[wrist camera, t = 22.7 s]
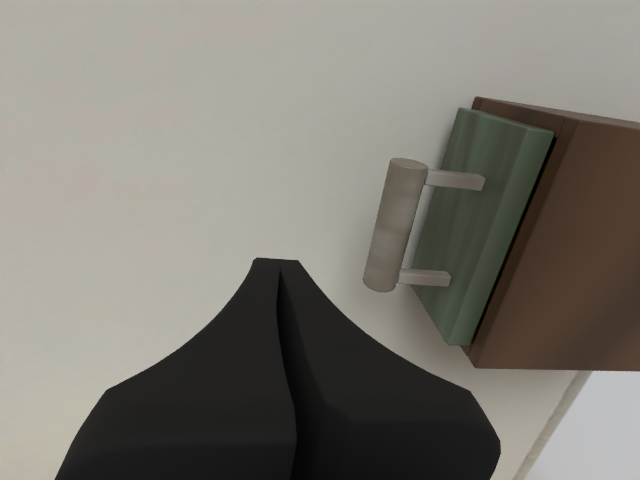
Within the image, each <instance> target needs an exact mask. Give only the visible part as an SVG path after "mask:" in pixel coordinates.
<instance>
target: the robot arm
mask: <svg viewBox="0 0 640 480" xmlns="http://www.w3.org/2000/svg"><path fill="white" fill-rule="evenodd" d="M500 454H501V448H500V440H499V438H498V436H497V434H496V432H495V430H494V428H493V427H492V425H491V423H490V422H489V420H488V418H487V417H486V415H485V413H484V411H483V410H482V408H481V407H480V405H479V404H478V402H477V401H476V399H475V397H474V396H473V395H472V393H471V392H470V391H469V390H466V389H464V388H462V387H460V386H458V385H455V384H453V383H451V382H449V381H447V380H444V379H442V378H440V377H438V376H436V375H433V374H431V373H429V372H427V371H425V370H424V369H422V368H420V367H418V366H416V365H414V364H413V363H411V362H409V361H407V360H405V359H404V358H402V357H400V356H399V355H397V354H395V353H394V352H392V351H391V350H389V349H388V348H386V347H385V346H383V345H382V344H380V343H379V342H377V341H376V340H375V339H373V338H372V337H370V336H369V335H368V334H366V333H365V332H364V331H363V330H361V329H360V328H359V327H358V326H357V325H355V324H354V323H353V322H352V321H351V320H349V319H348V318H347V317H346V316H345V315H344V314H343V313H342V312H341V311H340V310H339V309H338V308H337V307H336V306H335V305H334V304H333V303H332V302H331V301H330V300H329V299H328V298H327V296H326V295H325V294H324V293H323V292H322V291H321V289H320V288H319V287H318V286H317V285H316V283H315V282H314V281H313V279H312V278H311V277H310V275H309V274H308V273H307V271H306V270H305V269H304V267H303V266H302V265H301V263H300V262H299V261H298V260H285V259H270V258H256V259H255V260H253V263H252V266H251V268H250V271H249V273H248V274H247V276H246V278H245V280H244V281H243V283H242V284H241V286H240V287H239V289H238V290H237V292H236V293H235V294H234V296H233V297H232V298H231V299H230V301H229V302H228V303H227V304H226V305H225V307H224V308H223V309H222V310H221V311H220V312H219V313H218V315H217V316H216V317H215V318H214V319H213V320H212V321H211V322H210V323H209V324H208V325H207V326H206V327H204V328H203V329H202V330H201V331H200V332H199V333H198V334H196V335H195V336H194V337H193V338H192V339H190V340H189V341H188V342H187V343H185V344H184V345H183V346H182V347H180V348H179V349H177V350H176V351H175V352H173V353H172V354H170V355H169V356H167V357H166V358H164V359H163V360H161V361H160V362H158V363H156V364H155V365H153V366H151V367H150V368H148V369H146V370H144V371H142V372H140V373H139V374H137V375H135V376H133V377H131V378H129V379H127V380H125V381H123V382H121V383H119V384H118V385H116V386H113V387H111V388H109V389H107V390H106V391H105V393H104V394H103V395H102V397H101V398H100V399H99V401H98V402H97V404H96V405H95V407H94V408H93V410H92V411H91V412H90V414H89V416H88V417H87V419H86V420H85V422H84V423H83V425H82V426H81V428H80V429H79V431H78V433H77V435H76V436H75V438H74V440H73V442H72V444H71V446H70V448H69V450H68V452H67V454H66V457H65V459H64V461H63V463H62V465H61V467H60V469H59V471H58V474H57V476H56V478H55V480H490V478H491V476H492V474H493V472H494V471H495V468H496V465H497V463H498V460H499V457H500Z"/></svg>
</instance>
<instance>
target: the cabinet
mask: <svg viewBox="0 0 640 480" xmlns="http://www.w3.org/2000/svg"><path fill="white" fill-rule="evenodd" d="M472 109H473V110H479V111H483V112H486V113H490V114H493V115H497V116H500V117H504V118H507V119H511V120H515V121H518V122H522V123H525V124H529V125H532V126H536V127H539V128H543V129H546V130H550V131H553V132H554V133H555V134H554V137H555V138H557V140H556V143H555V145H554V147H553V150H552V152H551V155H550V157H549V160H548V162H547V165H546V167H545V170H544V172H543V174H542V177H541V179H540V182H539V184H538V187H537V189H536V192H535V194H534V196H533V199H532V201H531V204H530V206H529V209H528V211H527V214H526V216H525V218H524V221H523V223H522V226H521V228H520V231H519V233H518V236H517V238H516V241H515V243H514V245H513V248H512V250H511V253H510V255H509V258H508V260H507V263H506V265H505V267H504V270H503V272H502V275H501V277H500V280H499V282H498V285H497V287H496V289H495V292H494V294H493V297H492V299H491V302H490V304H489V307H488V309H487V312H486V314H485V316H484V317H483V316H482V315H481V318H480V320H479V323H478V325H477V328H476V330H475V332H474V335H473V337H472V340H471V342H470V345H468V346H464V345H460V346H461V348H462V349H463V351H464V352H465V354H466V355H467V356H468V358H469V360H470V361H471V363H472V364H473V366H474V367H475V368H487V369H540V370H593V371H597V370H598V371H599V370H600V371H640V123H638V122H632V121H626V120H620V119H613V118H607V117H601V116H595V115H588V114H582V113H576V112H570V111H563V110H557V109H551V108H545V107H539V106H532V105H526V104H520V103H514V102H507V101H501V100H495V99H489V98H483V97H475V99H474V103H473V106H472Z"/></svg>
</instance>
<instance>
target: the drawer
mask: <svg viewBox="0 0 640 480" xmlns="http://www.w3.org/2000/svg"><path fill="white" fill-rule="evenodd" d="M554 134H555V133H554V132H553V131H550V130H546V129H543V128H539V127H536V126H532V125H529V124H525V123H522V122H518V121H515V120H511V119H507V118H504V117H500V116H497V115H493V114H490V113H486V112H483V111H479V110H473V109H466V108H459V109H458V112H457V115H456V119H455V122H454V126H453V129H452V132H451V136H450V139H449V143H448V146H447V150H446V153H445V157H444V160H443V163H442V167H441V170H437V169H428V167H427V166H426V165H425V164H423V163H421V162H418V161H414V160H410V159H404V158H393V159H391V160H390V163H389V167H388V172H387V176H386V180H385V185H384V189H383V193H382V198H381V202H380V206H379V211H378V215H377V219H376V224H375V228H374V232H373V237H372V241H371V246H370V250H369V254H368V259H367V263H366V267H365V272H364V276H363V282H364V284H365V285H366V286H367V287H368V288H370V289H372V290H374V291H378V292H390V291H392V290H394V289H395V286H396V283H397V284H407V285H411V287H412V288H413V290H414V292H415V293H416V295H417V296H418V298H419V300H420V301H421V303H422V304H423V306H424V308H425V309H426V311H427V313H428V314H429V316H430V317H431V319H432V321H433V322H434V324H435V325H436V327H437V329H438V330H439V332H440V333H441V335H442V337H443V338H444V340H445V342H446V343H447V344H448V345H464V346H468V345H470V342H471V340H472V337H473V335H474V332H475V330H476V328H477V325H478V323H479V320H480V318H481V315H482V316H483V317H484V316H485V314H486V312H487V309H488V307H489V304H490V302H491V299H492V297H493V294H494V292H495V289H496V287H497V285H498V282H499V280H500V277H501V275H502V272H503V271H502V270H501V269H500V268H501V266H502V263H503V261H504V258H505V256H506V253H507V251H508V248H509V246H510V243H511V241H512V238H513V236H514V233H515V231H516V228H517V226H518V223H519V221H520V219H521V216H522V214H523V211H524V209H525V206H526V204H527V201H528V199H529V196H530V194H531V191H532V189H533V186H534V184H535V181H536V179H537V176H538V174H539V171H540V169H541V166H542V164H543V163H544V164H546V165H547V162H548V160H549V157H550V155H551V152H552V150H553V147H554V145H555V143H556V140H557V138H555V137H554ZM424 184H425V185H430V186H436V188H435V191H434V194H433V198H432V201H431V205H430V208H429V212H428V215H427V219H426V222H425V225H424V229H423V232H422V236H421V239H420V243H419V246H418V250H417V253H416V256H415V260H414V263H413V267H412V269H403V268H401V264H402V261H403V257H404V254H405V250H406V246H407V243H408V239H409V235H410V232H411V228H412V224H413V221H414V217H415V214H416V210H417V206H418V203H419V199H420V195H421V192H422V188H423V185H424Z"/></svg>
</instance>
